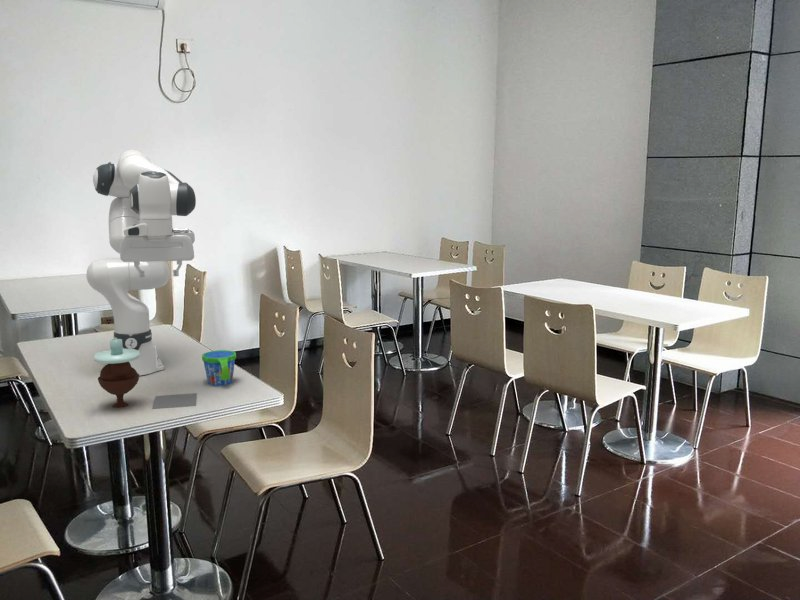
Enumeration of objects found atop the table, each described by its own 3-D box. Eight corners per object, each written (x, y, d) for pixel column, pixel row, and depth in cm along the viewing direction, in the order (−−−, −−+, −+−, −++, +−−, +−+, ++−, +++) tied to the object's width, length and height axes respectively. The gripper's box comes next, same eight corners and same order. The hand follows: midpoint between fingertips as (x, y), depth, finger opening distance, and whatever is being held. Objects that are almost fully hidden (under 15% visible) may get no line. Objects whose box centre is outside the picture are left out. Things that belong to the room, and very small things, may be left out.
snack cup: (201, 379, 228) (199, 349, 227) (233, 376, 232) (232, 346, 230) (205, 393, 214) (204, 361, 212) (240, 389, 218) (239, 358, 216)
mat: (155, 398, 209) (155, 395, 209) (197, 395, 212) (196, 393, 212) (152, 411, 197) (151, 408, 197) (196, 408, 200) (195, 405, 200)
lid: (97, 353, 201) (96, 336, 200) (141, 351, 204) (140, 334, 203) (90, 364, 190) (89, 346, 189) (137, 362, 193) (136, 343, 192)
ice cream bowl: (145, 401, 206) (142, 352, 203) (132, 414, 195) (129, 362, 192) (109, 401, 206) (106, 352, 203) (94, 414, 195) (90, 362, 192)
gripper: (194, 227, 205) (196, 274, 208) (120, 228, 200) (123, 276, 202) (193, 229, 199) (196, 277, 202) (117, 230, 194) (120, 279, 196)
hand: (159, 276), depth 202 cm, fingers open, 8 cm apart
